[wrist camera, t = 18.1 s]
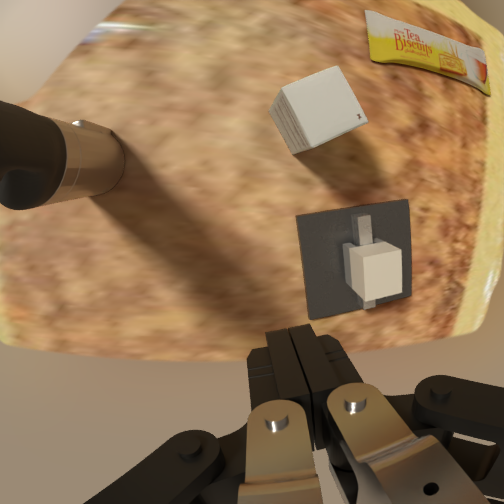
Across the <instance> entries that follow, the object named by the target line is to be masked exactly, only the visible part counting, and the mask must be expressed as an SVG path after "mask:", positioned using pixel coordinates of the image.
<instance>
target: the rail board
mask: <svg viewBox="0 0 504 504" xmlns="http://www.w3.org/2000/svg"><path fill="white" fill-rule="evenodd" d="M296 223H297V230H298V237H299V245H300V252H301V260H302V268H303V276H304V284H305V292H306V301H307V310H308V318H309V320H312V319H317V318H322V317H326V316H331V315H335V314H340V313H344V312H348V311H353V310H357V309H361V308H362V309H363V310H365V309H369V308H373V307H376V305H377V304H381V303H385V302H389V301H393V300H397V299H400V298H404V297H408V296H411V235H410V217H409V204H408V199H401V200H394V201H387V202H380V203H373V204H367V205H360V206H353V207H347V208H340V209H334V210H327V211H321V212H315V213H309V214H303V215H296ZM372 238H378V239H380V240H382V241H385V242H387V243H389V244H391V245H393V246H395V247H397V248H399V249H401V255H402V293H398V294H394V295H390V296H386V297H382V298H378V299H374V300H370V301H366V302H365V301H364V300H363V299H362V298H361V297H360V296H359V295H358V294H357V293H356V292H355V291H354V290H353V289H352V288H351V287H350V286H349V285H348V284H347V283H346V279H345V266H344V255H343V244H345V243H352V244H353V245H355V246H357V247H359V246H364V245H369V244H373V239H372Z"/></svg>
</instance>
